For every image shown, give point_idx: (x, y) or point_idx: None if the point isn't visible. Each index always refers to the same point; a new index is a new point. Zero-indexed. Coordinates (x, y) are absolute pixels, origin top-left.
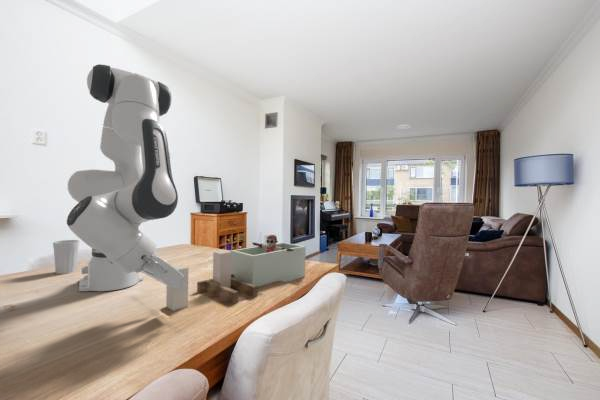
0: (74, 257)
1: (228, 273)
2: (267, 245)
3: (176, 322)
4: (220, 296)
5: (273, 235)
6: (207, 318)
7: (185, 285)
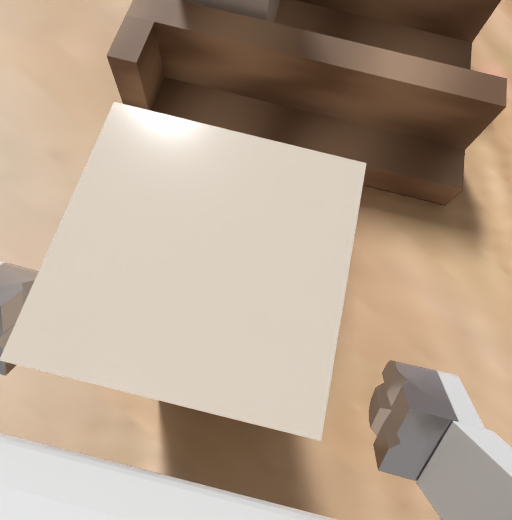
0: None
1: None
2: None
3: (345, 459)
4: (333, 113)
5: None
6: (441, 320)
7: (462, 393)
